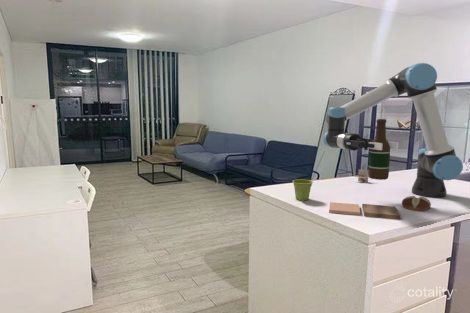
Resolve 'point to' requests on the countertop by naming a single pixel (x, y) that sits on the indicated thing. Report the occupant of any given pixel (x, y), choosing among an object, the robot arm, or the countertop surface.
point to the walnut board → (380, 211)
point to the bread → (416, 203)
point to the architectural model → (363, 176)
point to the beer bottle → (379, 154)
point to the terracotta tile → (344, 208)
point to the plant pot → (302, 188)
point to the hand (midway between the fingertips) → (389, 146)
